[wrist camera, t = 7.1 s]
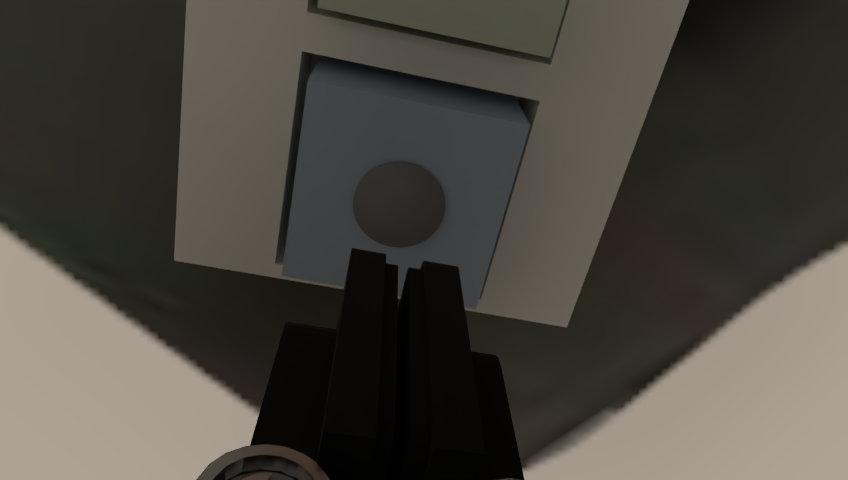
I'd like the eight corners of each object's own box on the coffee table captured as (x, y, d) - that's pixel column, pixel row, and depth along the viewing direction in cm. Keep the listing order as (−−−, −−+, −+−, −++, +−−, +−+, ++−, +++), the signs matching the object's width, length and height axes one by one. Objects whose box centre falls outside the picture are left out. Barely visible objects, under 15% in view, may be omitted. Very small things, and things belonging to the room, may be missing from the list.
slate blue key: (514, 94, 16) (530, 126, 14) (468, 260, 18) (476, 311, 16) (322, 54, 15) (307, 81, 13) (297, 229, 17) (281, 278, 15)
